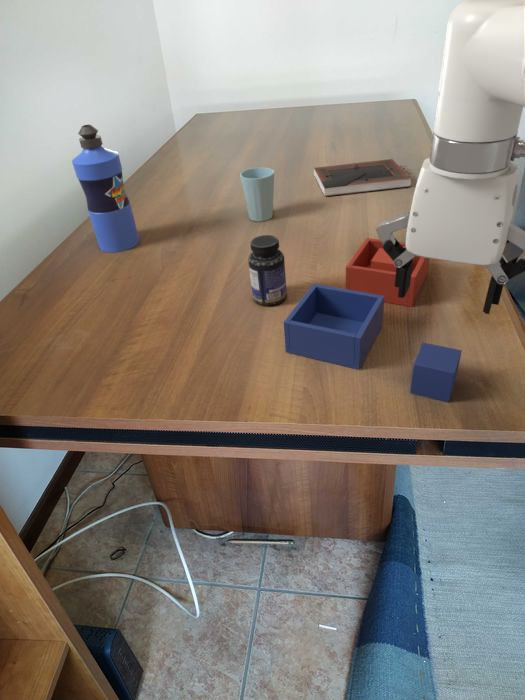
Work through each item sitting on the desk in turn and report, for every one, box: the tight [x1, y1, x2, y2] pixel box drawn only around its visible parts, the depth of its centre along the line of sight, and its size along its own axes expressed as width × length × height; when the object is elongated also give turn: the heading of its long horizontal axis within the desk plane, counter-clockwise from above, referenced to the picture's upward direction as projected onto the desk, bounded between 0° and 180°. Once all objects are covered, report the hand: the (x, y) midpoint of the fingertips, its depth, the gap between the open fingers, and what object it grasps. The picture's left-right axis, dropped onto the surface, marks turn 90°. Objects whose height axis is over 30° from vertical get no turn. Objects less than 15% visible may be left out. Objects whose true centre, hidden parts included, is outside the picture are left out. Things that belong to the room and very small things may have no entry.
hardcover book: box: [313, 158, 412, 197], centre depth 130 cm, size 16×2×22 cm
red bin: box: [344, 237, 431, 308], centre depth 87 cm, size 12×12×6 cm
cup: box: [239, 166, 275, 223], centre depth 114 cm, size 8×8×10 cm
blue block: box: [409, 342, 462, 403], centre depth 65 cm, size 5×5×5 cm
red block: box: [371, 248, 396, 272], centre depth 87 cm, size 5×5×5 cm
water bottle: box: [71, 124, 140, 253], centre depth 105 cm, size 9×9×25 cm
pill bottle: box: [247, 234, 288, 307], centre depth 85 cm, size 6×6×11 cm
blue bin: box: [283, 283, 385, 370], centre depth 76 cm, size 12×12×6 cm
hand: (444, 299), depth 59 cm, fingers open, 9 cm apart
